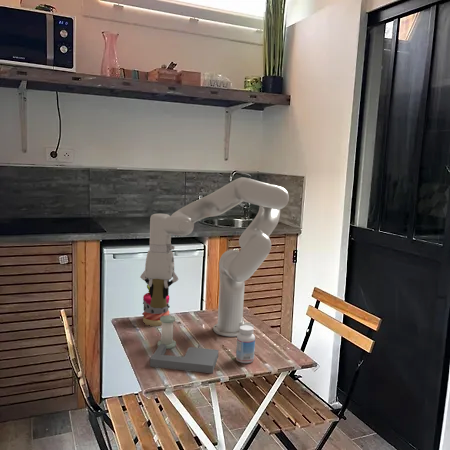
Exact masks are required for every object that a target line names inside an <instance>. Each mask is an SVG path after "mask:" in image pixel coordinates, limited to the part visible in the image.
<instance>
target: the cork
mask: <svg viewBox="0 0 450 450" xmlns="http://www.w3.org/2000/svg"><path fill="white" fill-rule="evenodd" d="M152 284H153V295H152V298H151V304H150V306H151V307H153V308H164V307H166V306H167V302H166V298H165V299H164V298H163V288H164V286H165V285H164V280H162V279H153V280H152Z"/></svg>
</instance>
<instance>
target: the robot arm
mask: <svg viewBox="0 0 450 450" xmlns="http://www.w3.org/2000/svg"><path fill="white" fill-rule="evenodd" d="M289 201H290V195H289V192H288V190H287V189H286V188H284V187H283V186H280V185H276V184H270V183H268V182H263V181H259V180H256V179H253V178H249V177H242V176H241V177H238V178H236V179H234V180H231V182H229V183H227V184H225V185H224V186H222V187H220V188H218V189H216V190H215V191H214V192H212V193H209V194H208V195H205V196H203V197H201V198H199V199H196V200H195V201H192V202H190V203H187V204H186V205H184V206H183V207H181V208H179V209H178V210H176V211H174V212H173V213H172V214H171V215H169V213H168V214H167V213H154V214H151V215H150V217H149V218H150V219H149V220H150V221H149V249H148V251H147V254H146V259H145V265H144V271H143V272H142V273H141V275H140V277H139V278H141V280H142V281H144V282H145V283H146V284H147V285H148V286H149V290H148V291H149V292H148V293H149V294H150V295H151V298H152V295H153V284H152V280H153V279H162V280H164V285H165V286H164V288H163V298H164V299H165V298H166V297H167V296H168V295H169V290H170V289H169V287H170V286H171V285H172V284H174V283H176V282H178V281H179V277H178V276H177V274H176V272H175V258H174V252H173V251H172V250H175V248H176V247H175V245H172V243H171V241H172V235H174V236H182V237H184V236H189V235H190V234H192V232H193V231H194V228H195V223H197V222H200V221H201V220H204V219H206V218H209V217H210V218H212V217H217V216H220V215H223V214H225V213H226V212H229V211H230V210H231V209H233V208H235V207H236V206H238V205H240V204H242V203H244V202H245V203H248V204H251V205H255V206H259V209H258V212H257V214H256V216H255V217H254V218H253V220H252V221H251V222H250V223H249V225H248V226H247V227H246V228H245V230H244V231H243V232H242V233H241V235H240V236H239V239H238V244H239V245H238V246H239V247H240V248H241V249H240V250H235V249H227V250H226V251H224V252H223V253H222V254H221V256H220V257H219V258H220V259H219V263H218V271H219V287H218V288H219V291H218V293H219V294H218V307H217V308H218V311H217V323H216V324H214V326H213V329H212V330H213V331H214V332H213V333H215V334H216V335H219V336H223V337H233V338H234V337H237V335H238V334H239V333H240V332H239V328H240V326H243V325H248V326H252V327H253V328H255V327H254V325H255V324H252V322H248V321H244V320H245V318H244V317H243V316H244V315H243V314H244V301H245V300H244V298H245V286H246V285H245V284H246V283H245V282H246V281H247V280H249V279H250V278H251V277H252V276H253V275H254V274H255V272H256V271H257V270H258V269H259V268H260V266H261V265H262V264H263V263H264V261H266V259H267V258H268V256H269V255H270V252H271V249H272V241H271V239H270V235H271V234H272V233H273V231H274V230H275V229H276V228H277V226H278V223H279V222H280V217H281V210H282V209H284V208H285V207H286V206H287V205H288V204H289Z"/></svg>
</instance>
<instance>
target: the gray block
mask: <svg viewBox="0 0 450 450" xmlns="http://www.w3.org/2000/svg"><path fill="white" fill-rule="evenodd" d="M166 352H167V349H166V344H160V345H159V347H158V346H157V348H156V350H155V351H154V353H153V354H152V355H151V357H150V359H149V360H150V361H149V367H150V368H151V367H152V368H161V369H169V370H178V371H179V370H180V371H187V372H188V371H189V372H196V373H206V374H213V373H214V370H215V368H216V365H217V363H218V362H217V361H218V359H219V349H215V348H204V347H196V346H195V347H194V346H189V347H188V348H187V350H186V352H185V353H184V354H185V355H184V356H179V355H170V354H169V355H168V354H166Z"/></svg>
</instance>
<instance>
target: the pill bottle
mask: <svg viewBox="0 0 450 450" xmlns="http://www.w3.org/2000/svg"><path fill="white" fill-rule="evenodd" d="M254 328H255V327H254ZM254 328H253V327H252V326H248V325H243V326H240V328H239V332H240V333H239V334H238V335H237V336H236V347H235V348H236V350H235V351H236V353H235V358H236V359H235V360H236V361H237V362H239V363H242V364H250V363H253V361H254V359H255V349H256V348H255V347H256V346H255V345H256V344H255V343H256V336H255V334H254Z"/></svg>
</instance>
